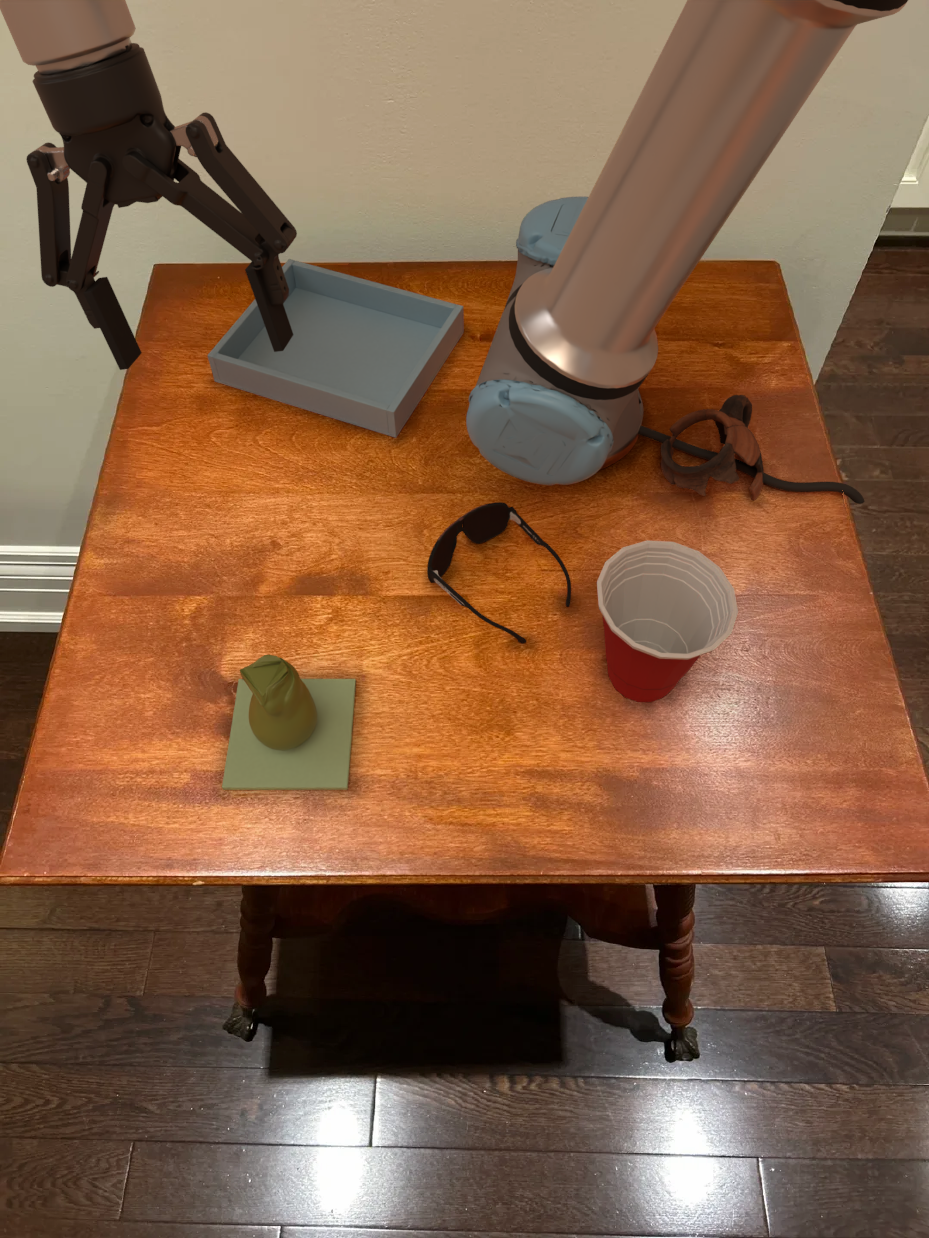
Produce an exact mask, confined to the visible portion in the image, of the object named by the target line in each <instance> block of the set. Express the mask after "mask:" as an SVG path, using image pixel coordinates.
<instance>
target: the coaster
mask: <svg viewBox="0 0 929 1238" xmlns="http://www.w3.org/2000/svg"><path fill="white" fill-rule="evenodd" d="M300 679H301V680H302V681H303V682H304V684H305V685H306V686H307V688H308V690H309V692H310V694H311V696H312V698H313V700H314V703H315V706H316V710H317V723H316V727H315V729H314V731H313V733H312V734H311V736H310V737H309V738H308V739H307V740H306V741H305V742H304V743H302V744H301V745H299V746H297V747H295V748H292V749H289V750H274V749H271V748H269V747H267V746H265V745H264V744H262V743H261V742H260V741H259V740H258V739H257V738H256V737H255V735H254V734H253V732H252V730H251V727H250V723H249V706H250V701H251V698H252V694H253V693H252V692H251V690H250V689H249V687H248V686H247V684H246V683H245V681H244V680H243V678H238V680H237V686H236V687H237V688H236V694H235V700H234V707H233V713H232V720H231V724H230V733H229V739H228V745H227V752H226V759H225V763H224V764H225V765H224V772H223V777H222V784H221V785H222V786H221V788H222V790H223V791H329V790H330V791H340V790H341V791H348V790H349V782H350V767H351V757H352V756H351V753H352V743H353V742H352V741H353V729H354V716H355V702H356V688H357V679H356V678H300Z"/></svg>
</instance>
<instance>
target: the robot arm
mask: <svg viewBox="0 0 929 1238" xmlns="http://www.w3.org/2000/svg"><path fill="white" fill-rule="evenodd" d="M908 2H909V0H686V2H685V4H684V6H683V8H682V10H681V12H680V14H679V16H678V18H677V20H676V21H675V23H674V26H673V28H672V29H671V32H670V34H669V36H668V38H667V40H666V42H665V43H664V46H663V47H662V49H661V51H660V54H659V56H658V58H657V60H656V62H655V64H654V66H653V68H652V70H651V72H650V74H649V76H648V78H647V80H646V82H645V84H644V86H643V88H642V90H641V92H640V94H639V96H638V98H637V99H636V101H635V104H634V105H633V108H632V110H631V112H630V113H629V116H628V117H627V119H626V121H625V124H624V126H623V128H622V130H621V132H620V134H619V136H618V138H617V139H616V142H615V143H614V146H613V147H612V149H611V151H610V153H609V154H608V155H609V156H608V157H607V160H606V162H605V164H604V165H603V168H602V169H601V171H600V174H599V175H598V178H597V180H596V181H595V184H594V185H593V187H592V190H591V191H590V193H589V195H588V196H567V197H560V198H557V199H550V200H547V201H544V202H542V203H540V204H538V205H537V206H535V207H533V208H532V209H531V210H529V211H528V212H527V213H526V214H525V216H524V217H523V219H522V220H521V222H520V226H519V231H518V235H517V236H518V237H517V239H516V241H515V247H516V249H517V262H516V268H515V269H516V270H515V275H514V279H513V283H512V286H511V288H510V292H509V295H508V297H507V300H506V303H505V306H504V308H503V312H502V313H501V316H500V319H499V322H498V324H497V327H496V330H495V333H494V335H493V337H492V340H491V343H490V345H489V349H488V352H487V355H486V357H485V360H484V363H483V366H482V367H481V371H480V374H479V376H478V379H477V381H476V384H475V387H474V388H472V390H471V391H470V393H469V396H468V403H469V404H468V408H467V412H466V418H465V420H466V421H465V424H466V430H467V435H468V438H469V439H470V441H471V443H472V445H473V446H475V447H476V448H477V449H478V451H479V454H480V455H481V456H482V457H483V459H485V460H486V461H487V462H488V463H489V464H491V465H492V466H493V467H495V468H497V469H498V470H500V471H501V472H503V473H505V474H507V475H509V476H510V477H513V478H515V479H518V480H522V481H524V482H526V483H527V482H528V483H532V484H536V485H543V486H554V485H561V486H568V485H573V484H577V483H581V482H583V481H586V480H588V479H589V478H591V477H592V476H594V475H596V474H597V473H598V472H599V471H600V470H603V469H606V468H608V467H610V466H612V465H614V464H616V463H618V462H619V461H620V460H622V459H623V458H625V457H626V456H627V455H628V454H629V453H630V452H631V451H632V449H633V448H634V446H635V445H636V443H637V441H638V439H639V437H640V436H641V437H644V438H647V439H650V440H652V441H655V442H657V443H659V444H662V443H663V442H664V441H665V440H667V439H668V440H670V438H671V437H672V435H671V436H670V435H668V434H666V433H663V432H660V431H657V430H655V429H652V428H649V427H647V426H644V425H642V423H643V418H644V404H643V400H642V396H641V393H640V391H639V389H640V387H641V386H642V384H643V383H644V381H645V380H646V379H647V377H648V376H649V375H650V372H651V371H652V370H653V368H654V367H655V364H656V362H657V359H658V355H659V340H658V337H657V336H658V335H657V332H656V330H655V328H656V327H657V325H658V324H659V323H660V321H661V319H662V318H663V316H664V315H665V314H666V312H667V310H668V309H669V307H670V306H671V304H672V303H673V301H674V300H675V298H676V297H677V296H678V294H679V292H680V290H681V289H682V288H683V287H684V285H685V283H686V282H687V280H688V279H689V277H690V276H691V274H692V273H693V271H694V270H695V268H696V267H697V265H699V262H700V261H701V259H702V258H703V256H704V255H705V253H706V252H707V250H709V247H710V246H711V245H712V243H713V241H714V240H715V238H716V237H717V235H718V234H719V232H720V231H721V229H722V228H723V226H724V225H725V223H726V222H727V220H728V218H729V217H730V216H731V214H732V213H733V211H734V210H735V209H736V207H737V205H738V203H740V201H741V199H742V198H743V196H744V195H745V193H746V191H747V190H748V189H749V187H750V186H751V184H752V183H753V181H754V180H755V178H756V177H757V175H758V174H759V172H760V171H761V169H762V168H763V166H764V165H765V163H766V161H767V160H768V159H769V158H770V155H772V152H773V151H774V149H775V148H776V147H777V145H778V143H779V142H780V141H781V139H782V138H783V136H784V135H785V133H786V132H787V130H788V128H789V127H790V126H791V124H792V122H793V121H794V120H795V118H796V117H797V115H798V114H799V112H800V110H801V109H802V107H803V106H804V104H805V103H806V101H807V100H808V98H809V97H810V95H811V94H812V93H813V91H814V90H815V88H816V86H817V85H818V83H819V82H820V80H821V79H822V77H823V76H824V75H825V73H826V71H827V70H828V69H829V67H830V65H831V64H832V62H833V61H834V60H835V58H836V57H837V55H838V53H839V52H840V51H841V49H842V47H843V46H844V44H845V43H846V42H847V40H848V38H849V37H850V35H851V34H852V32H853V31H854V30H855V28H856V26H857V25H860V24H864V23H867V22H871V21H875V20H878V19H882V18H886V17H889V16H893V15H895V14H897V13H899V12H900V11H902V9H904V7H905V6H906V4H907V3H908ZM0 12H1V14H2V17H3V19H4V21H5V23H6V26H7V29H8V30H9V33H10V35H11V37H12V41H13V42H14V45H15V46H16V49H17V51H18V53H19V56H20V58H21V60H22V62H23V63H25V65H28V66H33V67H34V66H35V67H36V69H37V70H36V72H35V73H34V74H33V79H32V84H33V87H34V88H35V91H36V93H37V95H38V97H39V100H40V102H41V104H42V106H43V108H44V110H45V113H46V115H47V118H48V119H49V122H50V124H51V126H52V128H53V129H54V132H56V133H58V134H59V136H60V137H61V141H62V143H63V144H62V145H63V146H58V147H57V146H56V144H54V143H52V142H45V143H43V144H42V145H41V146H38V147H37V148H36V149H34V150H33V151H31V152H30V153H28V154H27V156H26V158H25V159H26V164H27V166H28V169H29V172H30V174H31V177H32V179H33V180H32V181H33V182H34V185H35V187H36V204H37V220H38V223H37V224H38V239H39V254H40V255H39V256H40V274H41V280H42V282H43V283H44V284H45V285H46V286H48V287H51V288H54V287H56V286H62V287H65V288H68V289H69V290H70V291H71V292H73V293H74V295H75V296H76V298H77V301H78V303H79V305H80V307H81V309H82V311H83V313H84V315H85V317H86V319H87V322H88V323H89V325H90V326H91V327H92V328H93V329H95V330H96V329H100V332H101V333H102V335H103V338H104V340H105V341H106V344H107V346H108V348H109V350H110V352H111V355H112V356H113V358H114V361H115V363H116V365H117V367H118V369H119V370H120V371H122V370H123V371H124V370H129V369H130V368H131V366H133V364H134V363H135V362H136V361H137V360H138V358H139V357H140V356H141V355H142V354H143V353H142V350H141V348H140V346H139V344H138V341H137V339H136V337H135V335H134V333H133V330H132V329H131V326H130V324H129V322H128V319H127V318H126V315H125V313H124V311H123V308H122V306H121V304H120V302H119V300H118V297H117V296H116V293H115V291H114V289H113V287H112V284H111V282H110V280H109V277H108V276H102V277H98V278H97V279H95V277H96V276H97V275H98V274H99V273H100V271H99V270H98V266H99V262H100V258H101V255H102V252H103V247H104V245H105V241H106V236H107V233H108V228H109V224H110V221H111V217H112V213H113V209H114V207H115V205H116V206H117V207H118V209H121V208H126V207H129V206H131V205H134V204H135V203H143V204H150V203H151V204H152V203H157V202H158V201H160V200H161V199H162V198H164V199H165V200H166V201H168V202H169V203H171V204H172V205H174V206H179V207H182V208H183V209H184V210H185V211H187V212H188V213H189V214H191V215H192V216H193V217H195V218H196V219H197V220H198V221H199V222H201V223H202V224H204V225H205V226H206V227H207V228H208V229H210V230H211V231H212V232H214V233H215V234H216V235H218V236H219V237H220V238H221V239H222V240H224V241H225V242H226V243H228V244H229V245H230V246H231V247H233V248H234V249H236V250H237V251H238V252H239V253H240V254H242V255H243V256H245V257H246V258H247V259H248V260H249V261H251V262H249V264H248V265H247V266H246V268H245V269H244V271H245V274H246V277H247V280H248V282H249V286H250V287H251V291H252V294H253V296H254V300H255V299H256V302H257V305H258V308H259V311H260V313H261V316H262V319H263V322H264V325H265V327H266V330H267V333H268V336H269V339H270V341H271V344H272V347H273V350H274V352H278V351H283V350H284V349H285V347H286V346H287V344H288V343H289V341H290V339H291V338H292V336H293V332H292V329H291V326H290V323H289V320H288V317H287V314H286V311H285V308H284V305H283V303H284V302H285V300H286V299H287V298H288V296H289V287H288V284H287V282H286V278H285V275H284V272H283V269H282V267H283V265H282V264H281V261H280V254H284V253H285V252H286V251H287V250H288V249H289V247H290V246H291V245H292V243H293V242H294V240H295V239H296V238H297V235H298V232H297V229H296V227H295V226H294V225H293V223H292V222H291V221H290V220H289V219H288V218H287V216H286V215H285V214H284V213H283V211H282V210H281V209H280V208H279V207H278V205H277V204H276V203H275V202H274V200H273V199H272V198H271V197H270V196H269V194H267V192H266V190H265V189H264V188H263V187H262V186H261V185H260V183H259V182H258V181H257V180H256V179H255V178H254V176H253V175H252V174H251V173H250V172H249V171H248V169H247V168H246V167H245V166H244V164H242V162H241V161H240V159H239V158H238V157H237V156H236V154H235V153H233V151H232V150H231V149H230V148H229V146H228V145H227V144H226V142H225V139H224V137H223V135H222V133H221V130H220V128H219V126H218V124H217V121H216V119H215V117H214V116H213V114H211V113H209V112H206V111H205V112H202V113H201V114H199V115H198V116H197V117H195V118H194V119H193V120H191V121H187V122H185V123H182V124H179V125H176V126H175V125H174V124H173V123H172V121H171V120H170V119H169V118H168V116H167V114H166V112H165V108H164V103H163V98H162V95H161V91H160V89H159V86H158V83H157V81H156V78H155V76H154V73H153V70H152V68H151V64H150V62H149V59H148V56H147V54H146V52H145V48H144V47H141V46H140V44H138V43H136V42H132V40H131V37H133V36H134V35H135V32H136V26H135V23H134V20H133V17H132V14H131V12H130V9H129V7H128V4H127V1H126V0H0ZM182 147H183V148H184V149H186V151H187V154H188V155H189V156H190V157H193V158H197V160H198V161H199V164H200V165H201V167H202V168H203V169H204V170H205V172H206V173H207V174H208V176H210V178H211V179H212V180H213V181H214V182H215V184H216V185H217V186H218V187H219V188H220V189H221V191H222V192H223V193H224V194H225V195H226V196H227V198H228V199H229V200H230V201H231V203H232V204H231V203H230V202H229V201H227V200H226V199H225V198H224V197H223V196H222V195H220V194H218V193H217V192H216V191H215V190H213V189H212V188H211V187H210V186H208V185H207V184H206V183H204V181H202V179H201V177H200V175H199V174H198V173H197V171H195V170H194V169H193V168H192V167H190V165H188V164H187V163H185V162H184V161H182V160H181V159H180V154H181V150H182ZM70 170H71V171H72V172H73V173H74V174H76V175H77V176H78V177H79V178H80V179H82V180H83V181H84V182H85V183H86V186H85V190H84V194H83V198H82V202H81V207H80V209H81V210H82V212H81V217H80V220H79V224H78V229H77V233H76V238H75V242H74V246H73V249H72V245H71V244H72V243H71V242H72V241H71V239H72V238H71V212H70V211H71V210H70V187H69V178H68V177H69V176H70V174H71V171H70ZM233 204H234V206H233ZM672 447H673V449H674V450H677V451H680V452H683V453H685V454H688V455H691V456H694V457H697V458H700V459H703V460H707V461H709V460H711V459H712V458H713V457H715V456H716V455H717V454H718V453H719V452H718V451H717V452H716V451H713V450H710V449H706V448H703V447H699V446H697V445H694V444H691V443H688V442H686V441H683V440H680V439H678V438H676V439H675V441H674V442H673V444H672ZM735 463H736V471H740V472H741V473H743V474H746V475H747V476H748V477H750V478H752V479H755V476H756V474H757V469H756V468H755V467H753V466H750V465H748V464H746V463H745V462H744V460H740V459H738V458H736V457H735ZM763 485H766V486H769V487H771V488H774V489H777V490H781V491H785V492H791V493H818V492H834V493H839V494H842V495H844V496H847V498H849V499H850V500H851V501H852V502H853V503H856V504H859V505H861V504H864V503H865V502H866V501H865V498H864V497H863V495H862V494H861V492H860V491H858V490H857V489H856V488H855V487H853V486H851V485H849V484H847V483H844V482H839V481H810V482H809V481H807V482H806V481H804V482H801V481H800V482H799V481H798V482H797V481H789V480H783V479H780V478H778V477H775V476H772V475H770V474H768V473H767V472H764V473H763ZM842 490H843V491H842ZM843 492H844V494H843Z"/></svg>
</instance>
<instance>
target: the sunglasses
mask: <svg viewBox="0 0 929 1238" xmlns="http://www.w3.org/2000/svg"><path fill="white" fill-rule="evenodd" d="M509 521H513V522H515V524H516V525H518V527H519V528H520V529H521V530H522V531H523V532H524V533H525V534H526V535H527V536H528V537H529V538H530V539H531V540H532V542H534V543H535V544H536V545H537V546H540V547H543V548H545V549H546V550H547V551H548V553H550V554H551V555H552V557H553V558H554V559H555V560H556V562H557V563H558V565H559V566H560V568H561V570H562V572H563V574H564V577H565V580H566V588H567V591H566V598H565V606H566V607H567V608H570V606H571V601H572V600H571V599H572V582H571V581H572V580H571V578H570V574H569V572H568V569H567V567H566V565H565V564H564V562H563V560H562V558H561V557H560V556H559V554H558V553H557V552H556V551H555V549H553V547H551V546H550V544H549V543H548V542H546V541H544V540H543V539H542V538H541V536H540V535H539V534H538V533H537V532H536V531H535V530H534V529H533V528H532V527H531V526H530V525H529V524H528V523H527V522H526V520H524V518H523V517H521V515H520V514H519V513H518V511H517V509H515V507H514V506H509V505H508V504H507V503H505V502H501V501H498V502H497V501H496V502H489V503H485V504H481V505H479V506H476V507H474V508H472V509H471V510H469V511H468V512H466V513H464V514H463V515H462V516H460V517H458V518H457V519H456V520H455V521H453V522H452V523H451V524H450V525H449V526H447V528H445V530H444V531H443V532H442V533H441V534H440V535H439V537H438V539H437V540H436V541H435V543H434V546H433V547H432V549H431V551H430V554H429V557H428V561H427V568H426V574H427V579H428V581H429V583H431V584H437V585H438V586H439V587H440V588H441V589H442V590H443V591H444V592H445V593H447V595H449V596H450V597H451V598H452V599H453V600H455V601H456V603H458V604H459V605H460V606H462V607H464V608H466V609H468V610H469V611H470V612H471V613H473V614H474V615H475V616H477V617H478V618H479V619H480V620H482V621H484V623H487V624H489V625H491V627H494V628H497V629H499V630H501V631H503V632H505V633H507V634H509V635H510V636H511V637H513V638H514V639H516V640H517V642H518V643H520V644H522V645H523V644H526V643H527V639H526V638H524V637H523V636H521V635H520V634H519V633H517V632H515V631H514V630H512V629H510V628H508V627H506V626H504V625H501V624H500V623H497V622H495V621H493V620H491V619H490V618H488V617H487V616H485V615H483V614H482V613H481V612H480V611H479V610H477V609H476V608H475V607H474V606H473V605H471V603H470V602H468V601H467V600H466V599H465V597H463V596H461V595H460V593H459V592H457V591H456V590H455V589H454V588H453V587H452V586H451V585H449V584H448V583H447V582H446V581H445V580H444V579H443V578H442V577H443V576H444V574H445V573H446V572H447V571H448V569H449V568H450V566H451V564H452V561H453V558H454V553H455V551H456V547H457V545H458V539H457V538H458V535H459V534H461V533H463V534H464V536H465V537H466V538H467V539H469V541H470V542H472V543H474V544H476V545H477V544H478V545H479V544H480V545H481V544H483V543H486V542H488V541H490V540H491V539H494V538H495V537H497V536H500V535H501V534H502V533H504V532H505V531H506V529H507V528H508V526H509V525H508V524H509Z"/></svg>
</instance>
